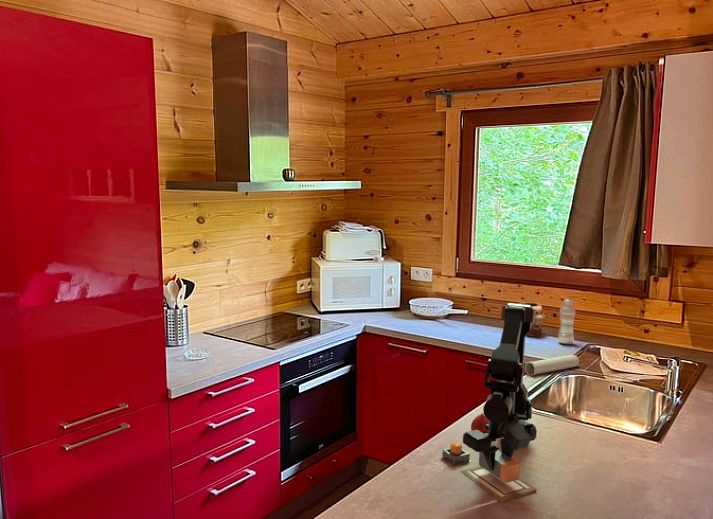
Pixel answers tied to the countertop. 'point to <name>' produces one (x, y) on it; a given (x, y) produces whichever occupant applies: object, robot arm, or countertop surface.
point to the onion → (480, 424)
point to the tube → (551, 364)
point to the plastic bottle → (566, 322)
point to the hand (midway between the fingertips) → (498, 467)
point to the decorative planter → (536, 319)
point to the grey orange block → (502, 467)
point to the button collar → (455, 457)
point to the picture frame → (498, 484)
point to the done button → (456, 448)
